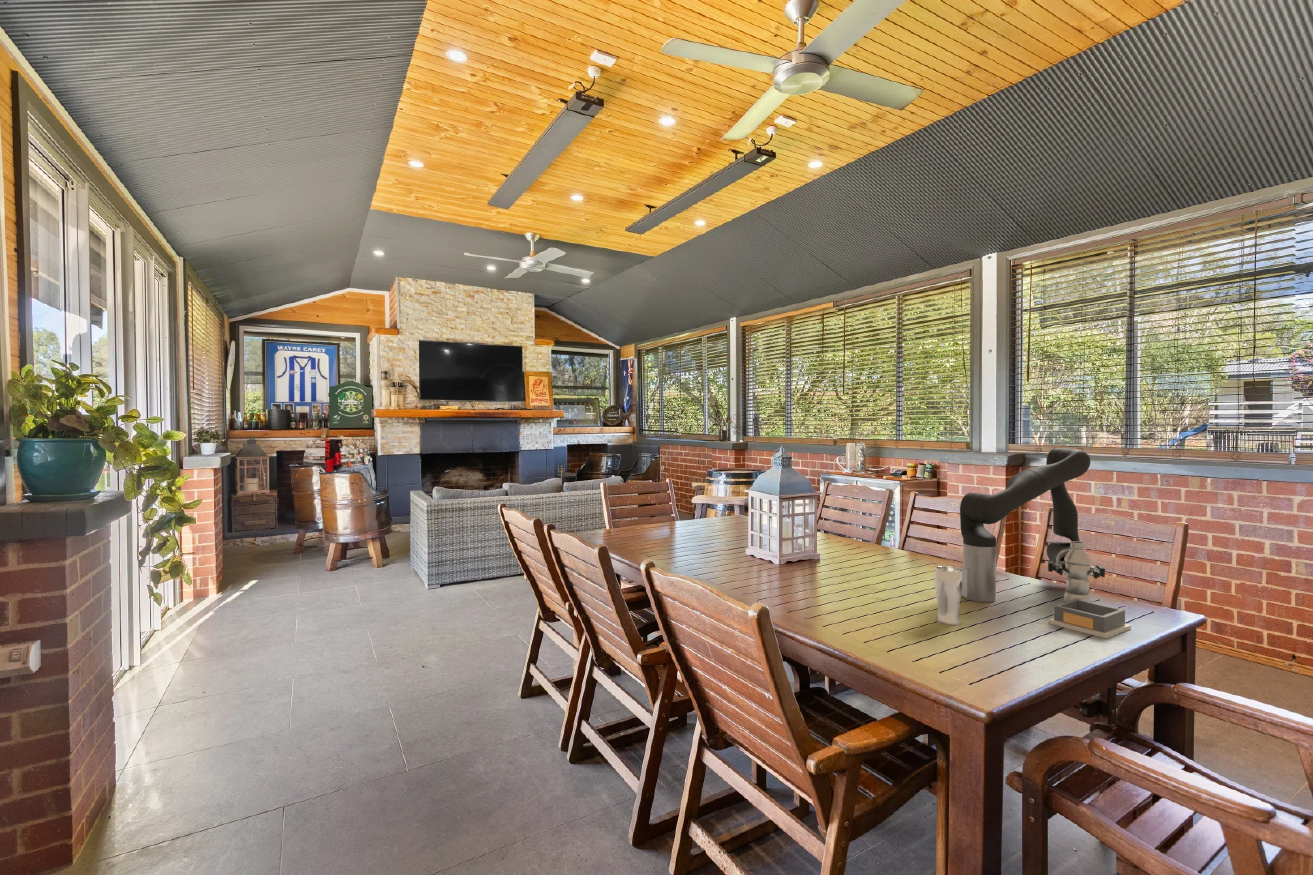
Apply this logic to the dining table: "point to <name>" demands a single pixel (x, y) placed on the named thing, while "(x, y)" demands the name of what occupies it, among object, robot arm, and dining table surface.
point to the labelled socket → (1090, 618)
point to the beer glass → (948, 594)
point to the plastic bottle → (1077, 572)
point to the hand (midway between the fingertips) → (1078, 573)
